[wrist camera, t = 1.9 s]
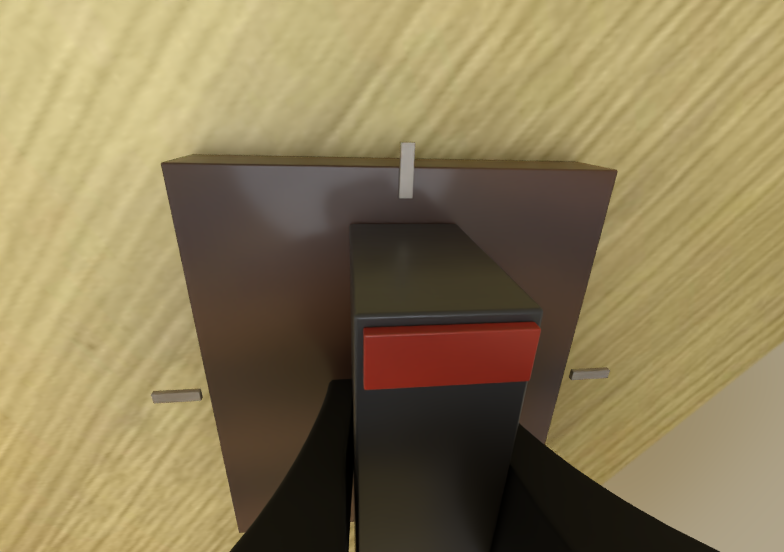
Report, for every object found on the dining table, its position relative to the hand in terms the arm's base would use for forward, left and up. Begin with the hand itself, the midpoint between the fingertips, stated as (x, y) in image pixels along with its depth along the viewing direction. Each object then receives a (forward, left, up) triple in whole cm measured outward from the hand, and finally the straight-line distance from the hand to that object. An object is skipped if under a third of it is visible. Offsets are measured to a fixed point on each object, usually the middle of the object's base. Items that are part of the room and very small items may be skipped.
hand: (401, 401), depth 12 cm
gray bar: (0, 0, -1) cm, 1 cm away
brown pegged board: (0, 0, -3) cm, 3 cm away
